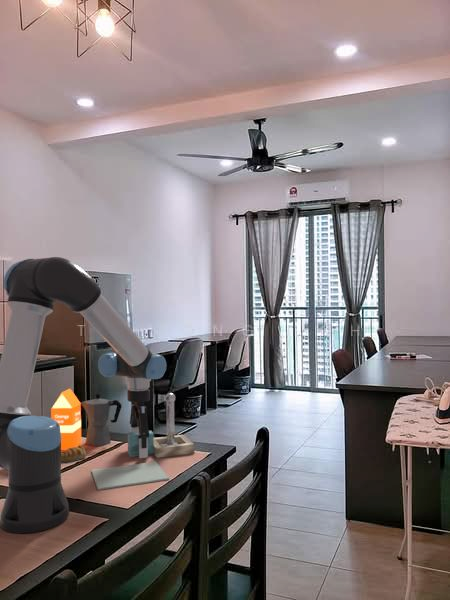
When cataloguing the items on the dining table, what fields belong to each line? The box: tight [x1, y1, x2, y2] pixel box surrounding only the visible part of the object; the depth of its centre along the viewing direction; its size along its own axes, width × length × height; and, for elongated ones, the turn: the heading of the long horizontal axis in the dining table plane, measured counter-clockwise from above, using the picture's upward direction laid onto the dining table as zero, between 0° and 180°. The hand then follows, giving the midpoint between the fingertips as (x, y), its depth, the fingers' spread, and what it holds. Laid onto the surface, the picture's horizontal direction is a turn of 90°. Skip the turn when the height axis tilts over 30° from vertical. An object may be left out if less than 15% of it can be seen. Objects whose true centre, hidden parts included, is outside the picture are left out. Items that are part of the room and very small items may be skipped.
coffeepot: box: [80, 393, 123, 447], centre depth 179 cm, size 15×9×18 cm, turn 86°
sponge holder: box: [127, 430, 195, 459], centre depth 167 cm, size 21×13×7 cm, turn 112°
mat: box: [90, 461, 170, 491], centre depth 144 cm, size 20×16×1 cm
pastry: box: [61, 445, 87, 463], centre depth 160 cm, size 9×7×4 cm
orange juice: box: [50, 388, 82, 451], centre depth 174 cm, size 8×9×20 cm
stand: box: [160, 392, 178, 446], centre depth 169 cm, size 6×6×20 cm
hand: (139, 451), depth 165 cm, fingers open, 13 cm apart
